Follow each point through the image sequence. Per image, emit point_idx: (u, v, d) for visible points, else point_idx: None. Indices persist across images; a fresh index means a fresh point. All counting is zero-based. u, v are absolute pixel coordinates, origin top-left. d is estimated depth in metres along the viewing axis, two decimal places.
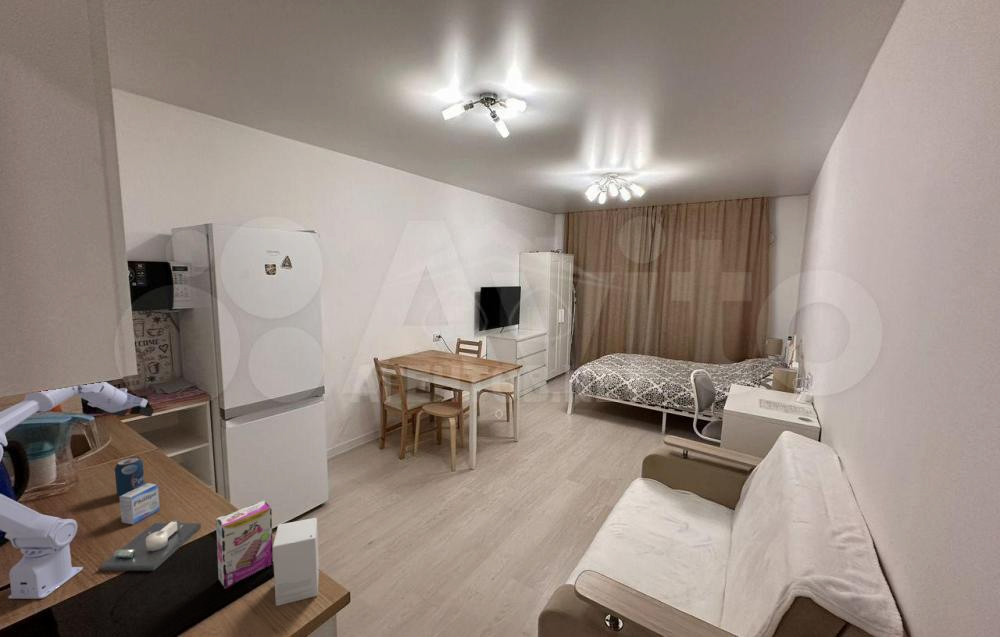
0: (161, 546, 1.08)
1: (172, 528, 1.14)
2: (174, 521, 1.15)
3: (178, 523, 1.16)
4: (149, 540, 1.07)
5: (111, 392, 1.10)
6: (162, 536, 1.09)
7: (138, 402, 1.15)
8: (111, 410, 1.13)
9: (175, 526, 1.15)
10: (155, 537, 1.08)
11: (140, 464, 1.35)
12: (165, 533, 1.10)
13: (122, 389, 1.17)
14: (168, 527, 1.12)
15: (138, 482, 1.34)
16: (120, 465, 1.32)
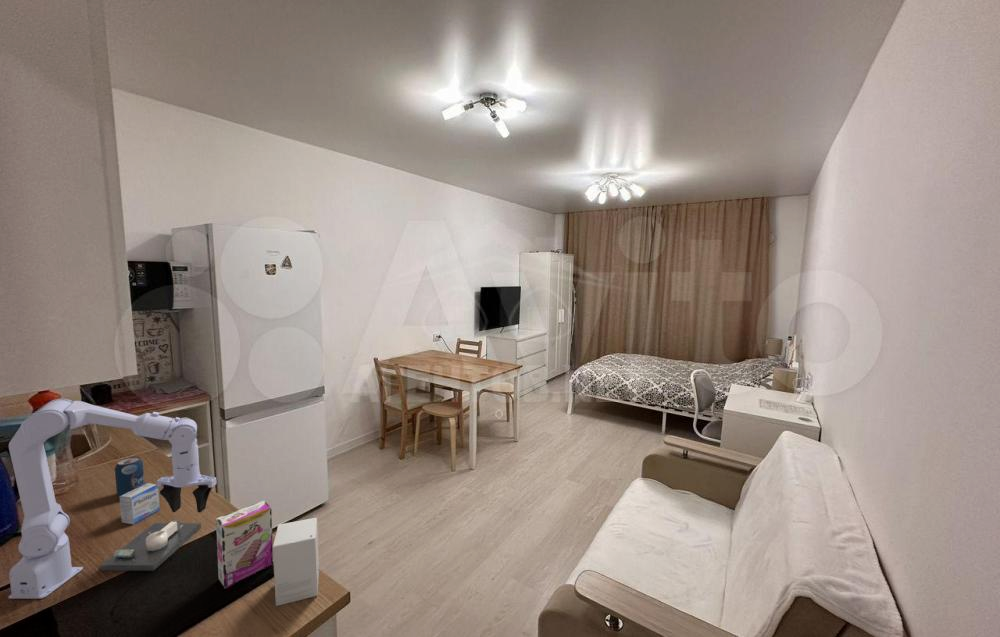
0: (161, 546, 1.08)
1: (172, 528, 1.14)
2: (174, 521, 1.15)
3: (178, 523, 1.16)
4: (149, 540, 1.07)
5: (186, 463, 1.09)
6: (162, 536, 1.09)
7: (209, 480, 1.12)
8: (181, 483, 1.09)
9: (175, 526, 1.15)
10: (155, 537, 1.08)
11: (140, 464, 1.35)
12: (165, 533, 1.10)
13: None
14: (168, 527, 1.12)
15: (138, 482, 1.34)
16: (120, 465, 1.32)
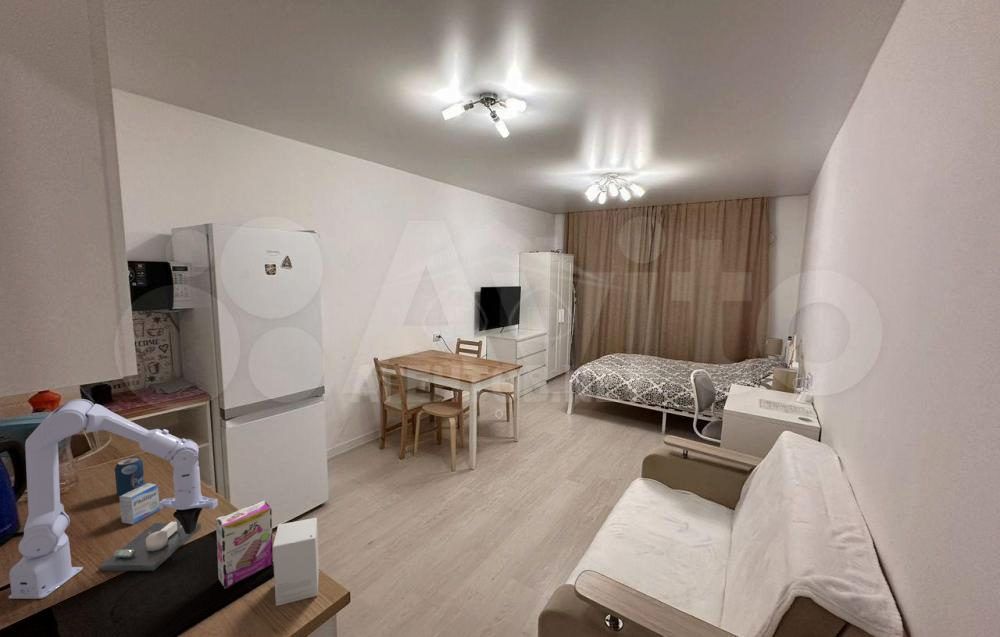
0: (161, 546, 1.08)
1: (172, 528, 1.14)
2: (174, 521, 1.15)
3: (178, 523, 1.16)
4: (149, 540, 1.07)
5: (187, 486, 1.09)
6: (162, 536, 1.09)
7: (210, 502, 1.12)
8: (182, 505, 1.09)
9: (175, 526, 1.15)
10: (155, 537, 1.08)
11: (140, 464, 1.35)
12: (165, 533, 1.10)
13: None
14: (168, 527, 1.12)
15: (138, 482, 1.34)
16: (120, 465, 1.32)
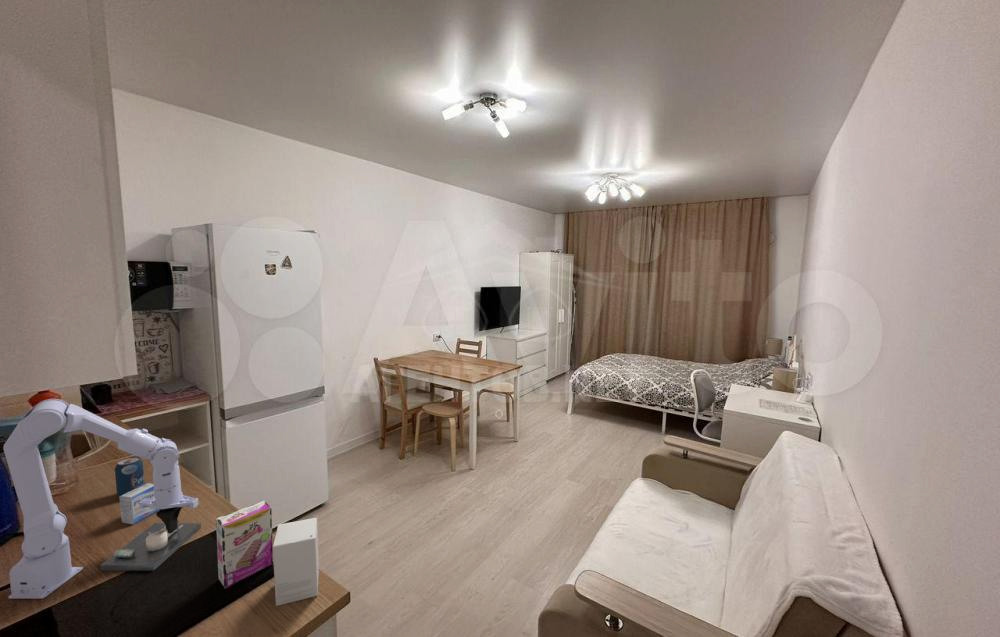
0: (161, 546, 1.08)
1: None
2: None
3: None
4: (149, 540, 1.07)
5: (168, 485, 1.09)
6: (162, 536, 1.09)
7: (191, 501, 1.12)
8: (162, 505, 1.09)
9: None
10: (155, 537, 1.08)
11: (140, 464, 1.35)
12: (165, 533, 1.10)
13: None
14: None
15: (138, 482, 1.34)
16: (120, 465, 1.32)
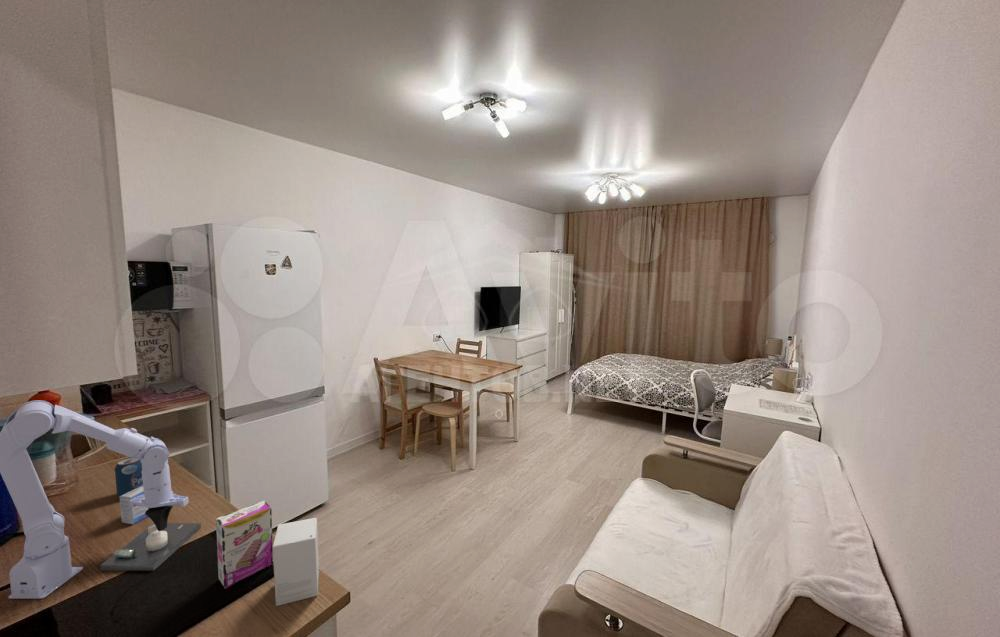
0: (167, 541, 1.10)
1: None
2: (151, 525, 1.13)
3: None
4: (155, 539, 1.08)
5: (159, 483, 1.10)
6: (164, 533, 1.10)
7: (181, 499, 1.12)
8: (152, 503, 1.09)
9: None
10: (158, 536, 1.09)
11: (140, 464, 1.35)
12: (162, 531, 1.11)
13: None
14: (156, 529, 1.12)
15: (138, 482, 1.34)
16: (120, 465, 1.32)
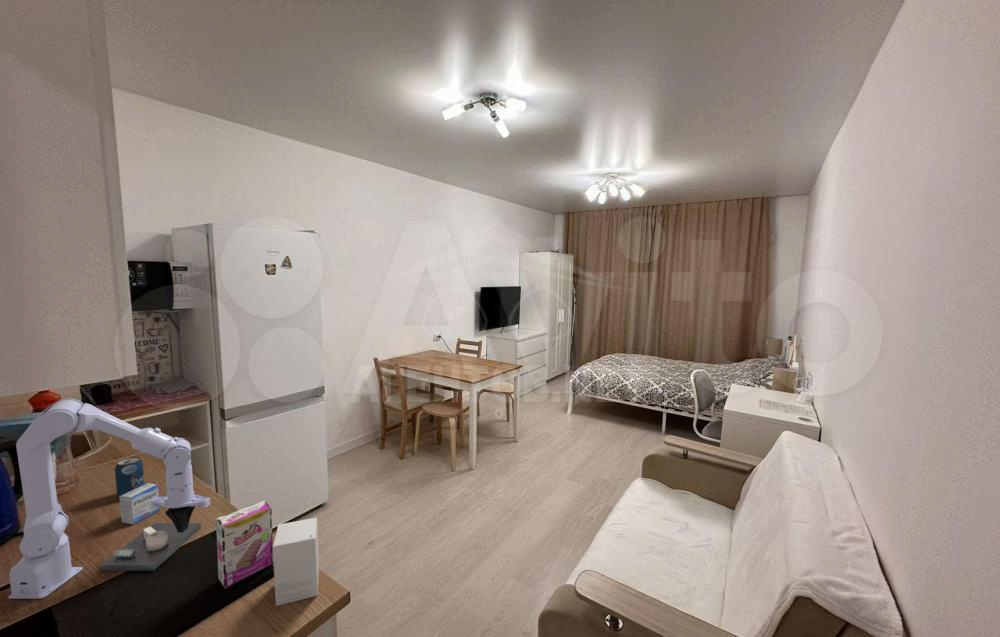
0: (167, 541, 1.10)
1: None
2: (147, 527, 1.12)
3: None
4: (157, 539, 1.08)
5: (180, 484, 1.09)
6: (164, 532, 1.10)
7: (203, 500, 1.12)
8: (175, 504, 1.09)
9: None
10: (158, 536, 1.09)
11: (140, 464, 1.35)
12: (161, 531, 1.11)
13: None
14: (153, 530, 1.11)
15: (138, 482, 1.34)
16: (120, 465, 1.32)
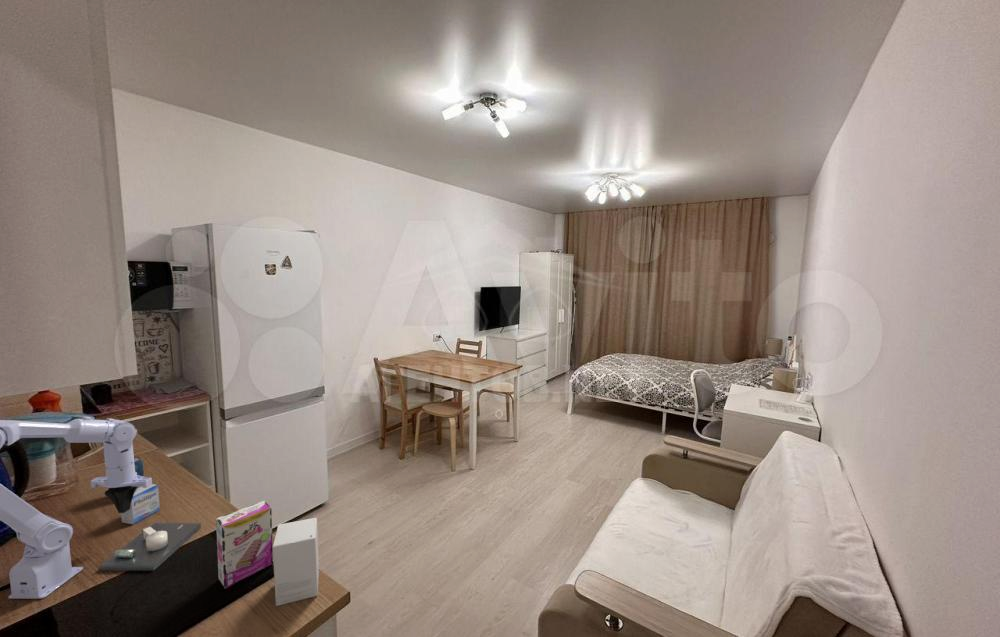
0: (167, 541, 1.10)
1: None
2: (146, 527, 1.12)
3: None
4: (157, 539, 1.08)
5: (127, 461, 1.09)
6: (164, 532, 1.10)
7: (144, 480, 1.10)
8: (113, 483, 1.08)
9: None
10: (158, 536, 1.09)
11: (140, 464, 1.35)
12: (161, 531, 1.11)
13: None
14: (153, 530, 1.11)
15: None
16: None
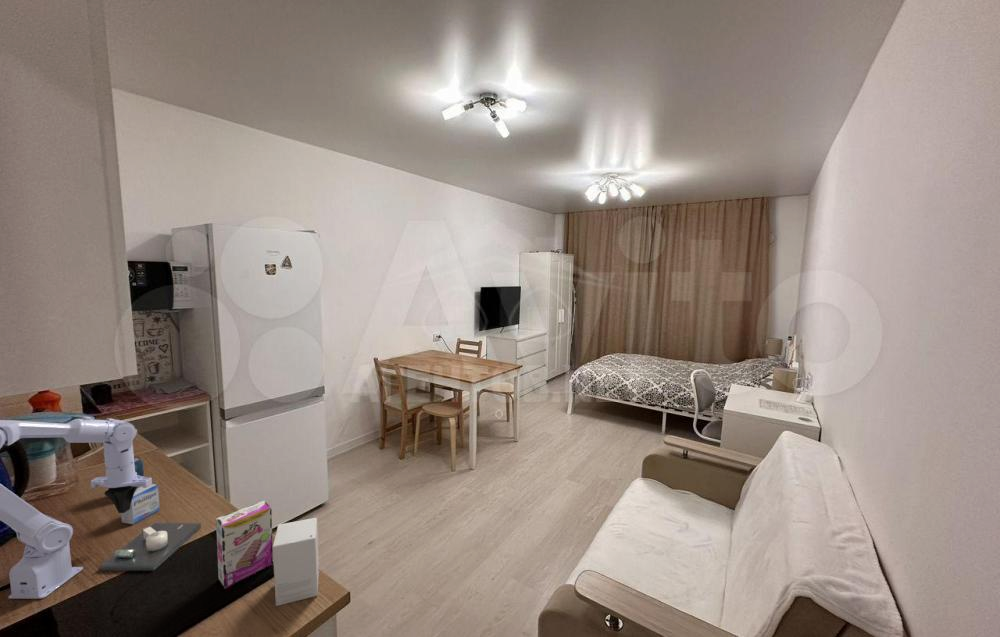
0: (167, 541, 1.10)
1: None
2: (146, 527, 1.12)
3: None
4: (157, 539, 1.08)
5: (127, 461, 1.09)
6: (164, 532, 1.10)
7: (144, 480, 1.10)
8: (113, 483, 1.08)
9: None
10: (158, 536, 1.09)
11: (140, 464, 1.35)
12: (161, 531, 1.11)
13: None
14: (153, 530, 1.11)
15: None
16: None
